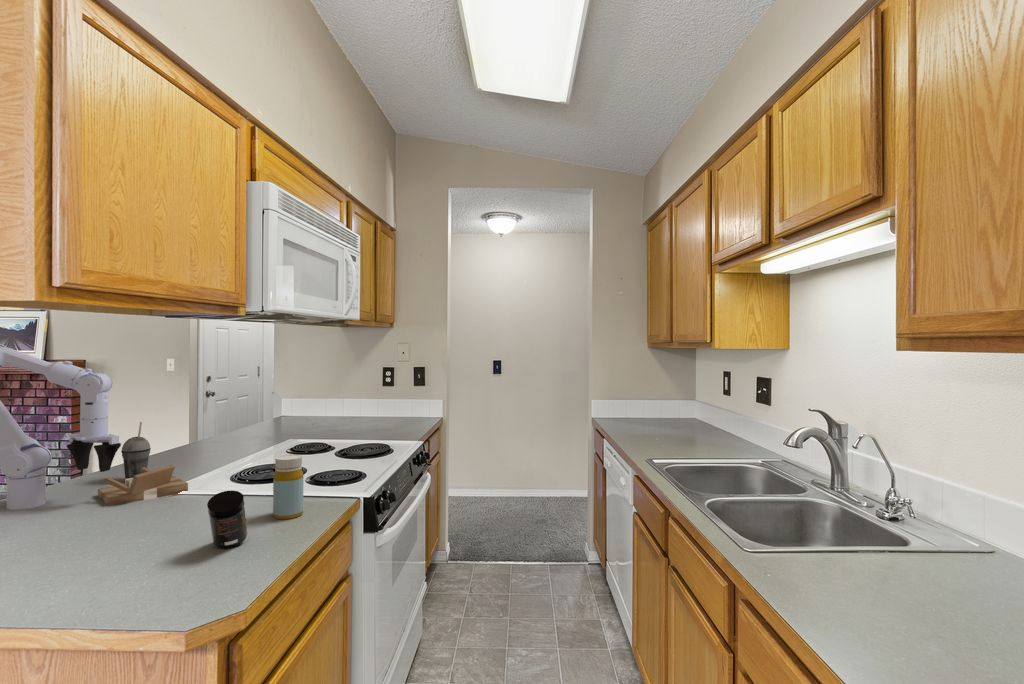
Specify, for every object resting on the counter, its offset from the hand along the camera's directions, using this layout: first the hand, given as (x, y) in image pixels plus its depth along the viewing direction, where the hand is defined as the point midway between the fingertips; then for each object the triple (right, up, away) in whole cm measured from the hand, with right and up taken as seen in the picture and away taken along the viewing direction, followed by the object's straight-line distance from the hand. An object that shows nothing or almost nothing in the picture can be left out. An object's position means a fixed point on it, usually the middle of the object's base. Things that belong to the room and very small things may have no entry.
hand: (93, 470), depth 133 cm
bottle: (+54, -11, -5) cm, 55 cm away
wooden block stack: (+8, -11, +8) cm, 15 cm away
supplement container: (+50, -11, -25) cm, 57 cm away
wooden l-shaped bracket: (+7, -5, +6) cm, 11 cm away
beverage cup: (-4, -11, +20) cm, 23 cm away
